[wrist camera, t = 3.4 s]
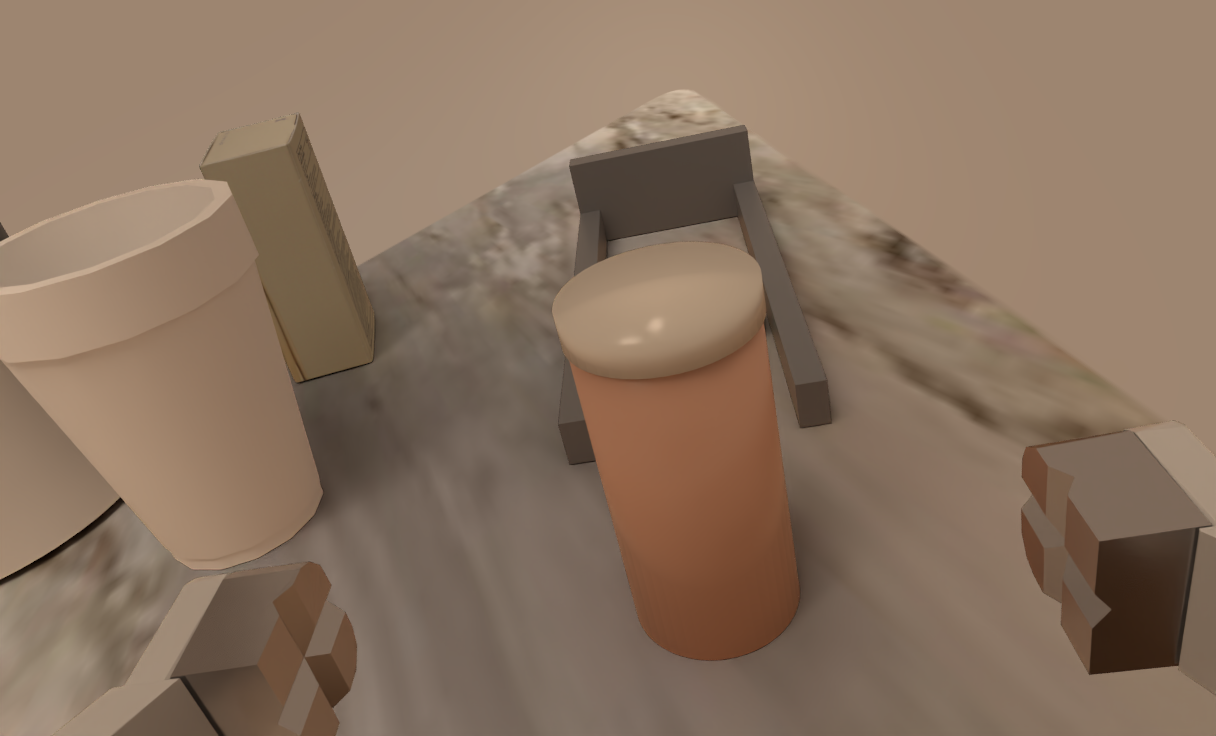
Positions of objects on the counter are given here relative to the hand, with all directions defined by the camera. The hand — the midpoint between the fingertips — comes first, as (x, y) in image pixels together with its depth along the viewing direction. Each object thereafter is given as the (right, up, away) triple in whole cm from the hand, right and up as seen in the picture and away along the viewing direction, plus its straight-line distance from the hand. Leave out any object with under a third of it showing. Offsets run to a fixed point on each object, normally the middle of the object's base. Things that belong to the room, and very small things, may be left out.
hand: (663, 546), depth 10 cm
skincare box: (-15, +3, +39) cm, 42 cm away
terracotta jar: (+3, -5, +18) cm, 19 cm away
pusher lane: (+3, +5, +34) cm, 35 cm away
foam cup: (-16, -4, +27) cm, 32 cm away
